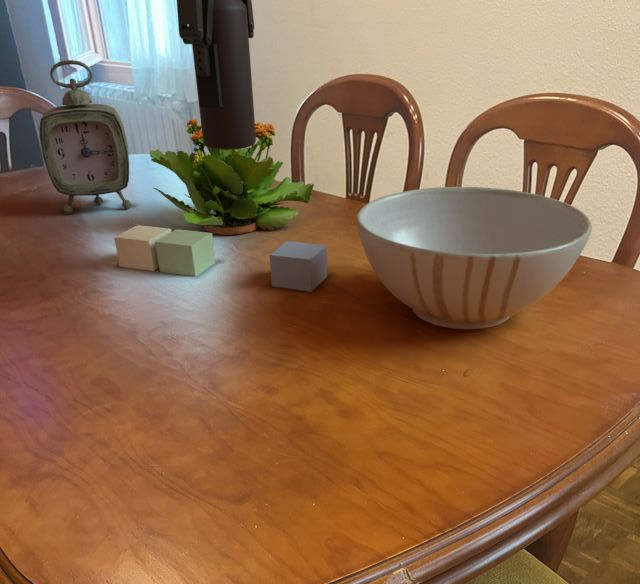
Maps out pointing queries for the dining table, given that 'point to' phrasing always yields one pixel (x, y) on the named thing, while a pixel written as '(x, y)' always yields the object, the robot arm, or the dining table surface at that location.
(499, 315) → the decorative bowl
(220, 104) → the robot arm
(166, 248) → the sage block
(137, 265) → the cream block
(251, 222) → the potted flower
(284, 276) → the slate block
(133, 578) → the dining table surface
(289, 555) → the dining table surface
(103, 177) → the tabletop clock
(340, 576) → the dining table surface
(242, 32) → the dark brown bottle
